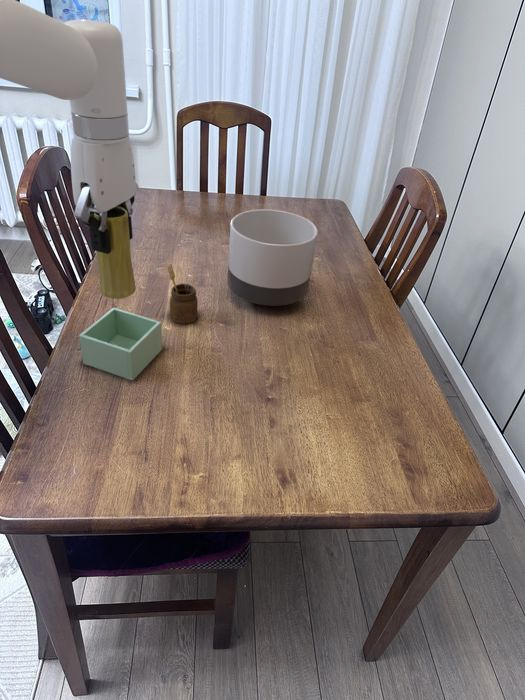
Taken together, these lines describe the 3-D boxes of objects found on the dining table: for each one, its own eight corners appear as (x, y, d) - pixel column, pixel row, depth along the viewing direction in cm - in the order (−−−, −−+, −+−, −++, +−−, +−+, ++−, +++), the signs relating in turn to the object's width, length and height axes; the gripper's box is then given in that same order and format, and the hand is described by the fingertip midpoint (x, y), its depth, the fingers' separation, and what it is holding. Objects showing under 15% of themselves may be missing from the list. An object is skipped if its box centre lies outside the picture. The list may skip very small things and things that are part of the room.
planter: (321, 307, 115) (335, 238, 105) (250, 324, 107) (257, 251, 96) (280, 270, 128) (288, 205, 118) (213, 282, 120) (216, 213, 109)
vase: (131, 300, 83) (125, 221, 74) (95, 297, 82) (84, 217, 74) (139, 282, 87) (134, 206, 79) (105, 279, 87) (96, 202, 79)
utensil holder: (190, 327, 104) (190, 278, 97) (163, 320, 105) (162, 270, 98) (201, 313, 109) (202, 265, 101) (176, 306, 110) (175, 258, 103)
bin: (83, 363, 92) (78, 335, 88) (116, 334, 100) (113, 307, 96) (132, 380, 89) (130, 352, 85) (162, 349, 97) (161, 322, 93)
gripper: (113, 111, 76) (123, 221, 87) (36, 133, 63) (58, 259, 74) (156, 119, 74) (160, 231, 85) (85, 144, 61) (100, 272, 72)
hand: (112, 243), depth 80 cm, fingers closed on vase, 5 cm apart
